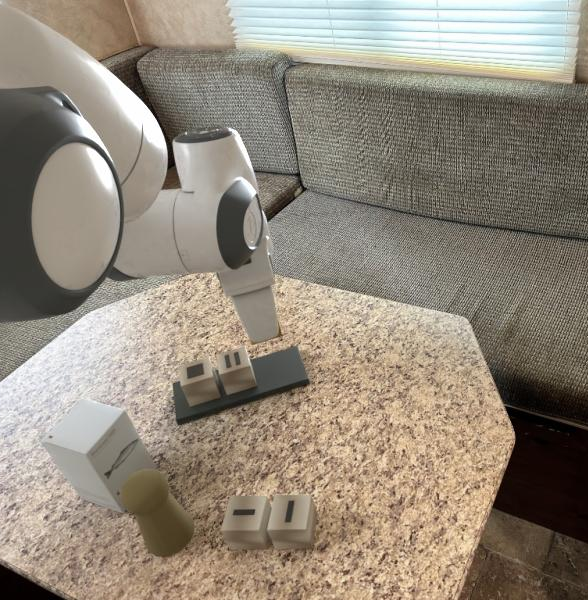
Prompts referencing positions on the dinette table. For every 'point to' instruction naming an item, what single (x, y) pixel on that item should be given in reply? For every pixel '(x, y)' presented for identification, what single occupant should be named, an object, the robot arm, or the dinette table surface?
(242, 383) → the tile
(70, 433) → the white packaging box
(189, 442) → the dinette table surface
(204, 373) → the tile
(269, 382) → the slate board
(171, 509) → the olive game pawn
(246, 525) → the off-white cube
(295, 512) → the white block
